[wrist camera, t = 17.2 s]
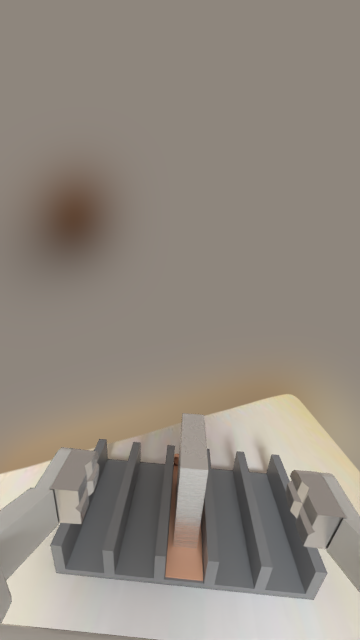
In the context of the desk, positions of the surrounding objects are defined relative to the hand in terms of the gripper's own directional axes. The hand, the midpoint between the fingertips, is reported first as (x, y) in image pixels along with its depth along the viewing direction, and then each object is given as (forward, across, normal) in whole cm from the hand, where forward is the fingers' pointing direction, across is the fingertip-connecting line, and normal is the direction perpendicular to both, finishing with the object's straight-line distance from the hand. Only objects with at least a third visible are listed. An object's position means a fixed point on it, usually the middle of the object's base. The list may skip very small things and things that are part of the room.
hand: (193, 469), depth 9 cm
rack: (+14, -2, +29) cm, 32 cm away
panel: (+14, -2, +28) cm, 31 cm away
